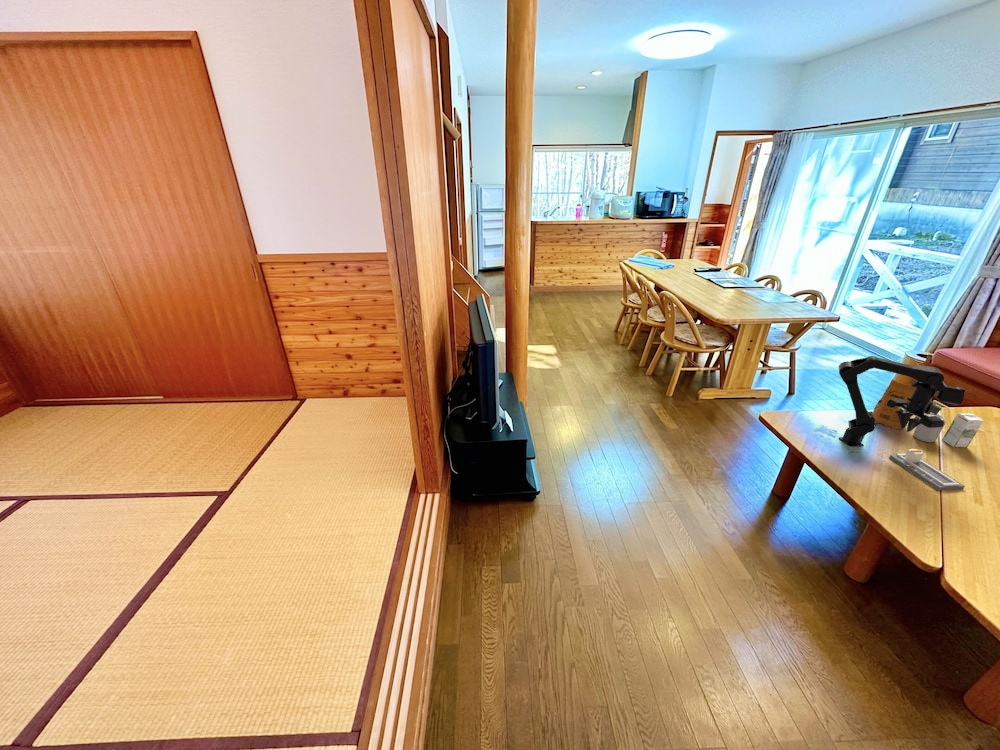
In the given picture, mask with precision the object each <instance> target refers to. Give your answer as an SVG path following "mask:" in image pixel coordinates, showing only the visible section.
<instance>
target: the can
mask: <svg viewBox="0 0 1000 750" xmlns="http://www.w3.org/2000/svg"><path fill="white" fill-rule="evenodd" d="M924 415H927V416H935V417H937V418H939V419H941V420H943V421H944V425H943V427H937V428H928V427H926V426H924V425H922V424H920V425H918V426H917V427H915V428H914V431H913V433H912V434H913V436H914V438H916V439H917V440H919V441H922V442H925V443H933V442H937V440H938V437H939V436H940V435H941V432H942V430H943V429H944V427H945V426H946V418H945V416H942V415H941V414H937V415H935V414H933V413H930V414H926V413H925V414H924Z"/></svg>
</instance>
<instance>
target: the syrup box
mask: <svg viewBox="0 0 1000 750" xmlns="http://www.w3.org/2000/svg"><path fill="white" fill-rule="evenodd" d="M984 422H985V420H983V419H982V418H981V417H979V416H977V415H975V414H973V413H956V415H955V416H954V418H953V420H952V422H951V424H950V425H949V427H948V428H947V430H946V432H945V433H944V436H943V437H942V441H943V442H944V443H946V444H948V445H949V446H951V447H952V448H968V447H969V445H970V444H971V442H973V440H974V438H975V437H976V434H977V433H978V431H979V429H980V428H981V426H982V425H983V423H984Z"/></svg>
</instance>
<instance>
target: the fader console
mask: <svg viewBox="0 0 1000 750" xmlns="http://www.w3.org/2000/svg"><path fill="white" fill-rule="evenodd" d="M906 453H907V452H906ZM906 453H905V452H904V453H896V454H890V456H889V457H888V458H889V459H890V460H891V461H893V462H895V463H896V464H897V465H898V466H899V465H900V466H901V467H902V468H903V469H905V470H906V471H908V472H909V473H910V474H913V475H914V476H915V477H917V478H918V479H920V480H921V481H923V482H925V483H926V484H927V485H929V486H930V487H932V488H933V489H934V490H936V491H949V490H950V491H953V490H964V488H965V487H966V485H965V484H962V482H959V481H958V480H956V479H955V478H953V477H951V476H950V475H948V474H946V473H945V472H943V471H942V470H940V469H939V468H937V467H935V466H934V465H932V464H930V463H929V462H927V461H926V460H924V459H923V458H921V460H920V462H914V463H912V462H911V461H909V460H907V459H906V458H904V457H905V455H906Z"/></svg>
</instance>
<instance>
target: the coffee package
mask: <svg viewBox="0 0 1000 750" xmlns="http://www.w3.org/2000/svg"><path fill="white" fill-rule="evenodd" d="M915 388H916V387H912V386H911V384H906V383H904V382H901V381H898V380H896V379H893V378H892V379H891V381H890V383H889V384H888V386H887V388H886V389H885V390H884V392H883V394H882V396H881V397H880V399H879V400H878V401H877V403H876V404H875V407H874V409H873V411H872V412H873V416H874V418H875V421H876V422H877V423H876V424H881V425H884V426H885V425H886V427H888V426H889V428H892V427H894V429H898V430H903V429H902V428H901V425H900V421H899V417H898V414H897V412H896V410H898V409H899V408H898V406H896V407H894V408H891V407H889V406H887V405H886V403H887V401H888V400H890V399H902V400H904V401H906V402H909V400H907V398H908V397H911V396H912V394H913V392H914V390H915Z"/></svg>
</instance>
